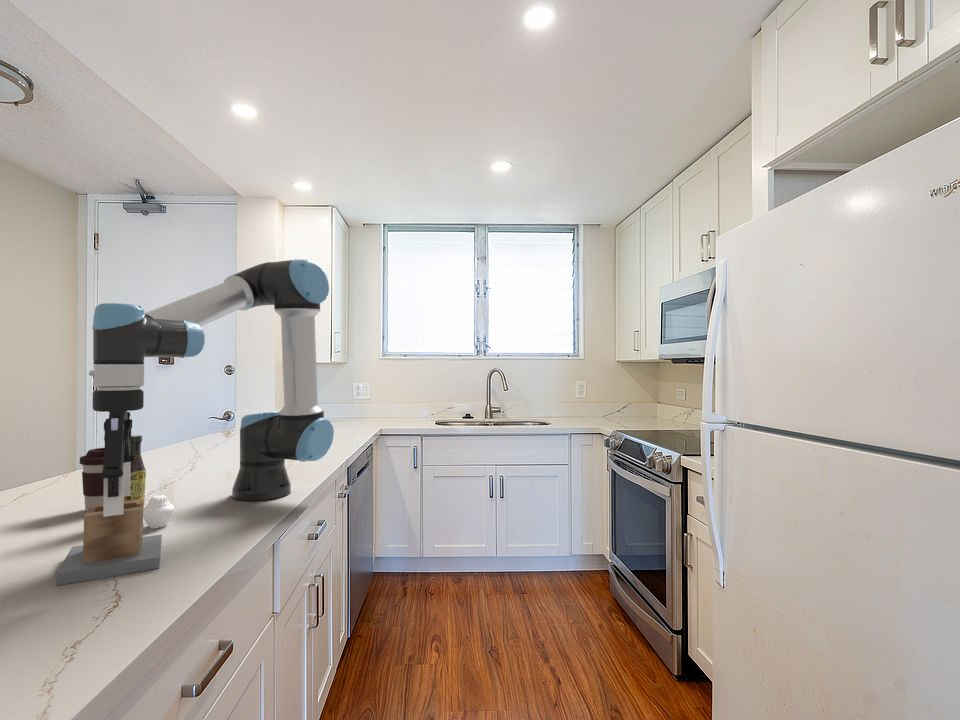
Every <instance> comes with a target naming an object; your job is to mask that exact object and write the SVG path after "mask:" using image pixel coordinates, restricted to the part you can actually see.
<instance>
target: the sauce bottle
mask: <svg viewBox="0 0 960 720" xmlns="http://www.w3.org/2000/svg"><path fill="white" fill-rule="evenodd" d="M142 441H143V435H141V434H131V438H130V445H131V456H133V455H135V460H134V461H127V462H130V496H125V497H124V501H134V500H143V499H144V501H145V500H146V499H145V497H146V496H145V495H146V493H145V492H146V479H147V474H146V473H147V470H146V467H145V464H144V461H143V458H142V451H141V448H142ZM144 508H145V502H144V503H143V509H144Z"/></svg>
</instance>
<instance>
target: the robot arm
mask: <svg viewBox="0 0 960 720" xmlns="http://www.w3.org/2000/svg"><path fill="white" fill-rule="evenodd" d="M329 291H330V284H329V279H328V277H327V274H326V272H325V270H324V269H322V267H321V265H319V263H317V262H315V261H314V260H312V259H288V260H281V261H280V260H279V261H267V262H263V263H259V264H257V265H254V266H251V267H249V268H246V269H244V270H240V271H238V272H237V273H234V274H233V275H229V276H227V277H226V278H225V279H224V280H223V283H222V282H221V283H219V284H216V285H215V286H212V287H209V288H206V289H204V290H200V291H198V292H196V293H193V294H191V295H188V296H186V297H183V298H181V299H178V300H175V301H173V302H170V303H168V304H164V305H162V306H159V307H157V308H154V309H151V310H150V311H147V312H145V309H144V307H143V306H141V305H137V304H132V303H131V304H129V303H121V302H120V303H116V302H113V303H112V302H107V303H100V304H98V305H96V306H95V307H94V313H93V319H92V320H93V322H92V326H91V327H92V330H93V331H92V334H93V335H92V338H93V339H92V349H93V350H92V352H93V353H92V355H93V358H92V361H93V370H89V372H88V375H89V376H91V377H93V376H94V377H93V379H92V380H93V382H92V383H93V384H92V386H93V387H94V388H97V389H96V390H94V391H93V392H92V410H93V411H94V412H99V413H100V412H103V413H105V412H107V413H108V418H106V419H105V420H104V422H103V430H104V438H103V440H104V447H103V448H104V462H103V471H102V473H98V478H99V479H103V478H104V501H103V517H106V516H114V515H122V514H123V512H124V497H125V496H130V462H127V461H134V460H135V455H133V456H131V445H130V438H131V435H132V428H133V419H130V418H131V412H133V411H140V410H142V409H143V408H144V405H145V404H144V396H145V395H144V393H145V392H144V390H143V389H141V388H142V387H143V386H145V358H182V359H183V358H193V357H196V356H197V355H199V354H200V353H201V352H202V351H203V348H204V346H205V344H206V343H205V340H206V339H205V338H206V337H205V336H206V335H205V332H204V330H203V328H202V327H203V326H204V325H207V324H209V323H212V322H214V321H216V320H218V319H220V318H223V317H225V316H227V315H229V314H231V313H234V312H236V311H238V310H239V311H243V312H244V311H247V310H249V309H252V308H256V307H262V306H264V307H265V306H274V308H273V309H274V312H275V313H276V314H277V315H279V317H280V322H281V323H280V326H281V353H282V355H281V357H282V376H283V377H282V379H283V381H282V382H283V404H284V405H283V407H282V408H281V409H280V410H276V411H270V412H259V413H251V414H245V415H244V416H242V417H241V418H240V419H241V420H240V428H239V470H238V472H237V474H236V477H235V480H234V483H233V486H232V490H231V497H232V499H234V500H238V501H243V502H246V501H248V502H250V501H253V502H255V501H267V500H274V499H278V498H282V497H285V496H288V495H289V494H291V492H292V491H291V490H292V489H291V488H292V487H291V485H292V484H291V481H290V478H289V475H288V472H287V470H286V465H285V463H286V460H290V461H291V460H292V461H299V462H302V463H304V462H305V463H306V462H316V461H319V460H320V459H322V458H324V457H325V456H326V455H327V454H328V451H329V450H330V449H331V446H332V444H333V440H334V434H335V430H334V426H333V424H332V422H331V421H330V420H329V419H328V418H326V417H325V411H324V408H323V407H321V406H320V405H319V401H318V398H319V397H318V374H317V350H316V349H317V343H316V321H315V320H316V316H317V315H318V314H319V313H320V312H321V304H322V303H323V302H325V301H326V300H327V297H328V296H329V293H330V292H329ZM130 411H131V412H130Z"/></svg>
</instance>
